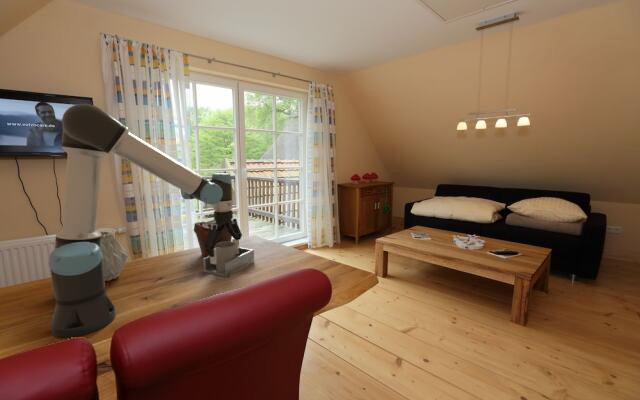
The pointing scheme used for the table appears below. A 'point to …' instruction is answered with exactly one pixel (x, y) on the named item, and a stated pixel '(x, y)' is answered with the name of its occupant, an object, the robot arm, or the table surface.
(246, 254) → the silver open box
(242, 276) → the table surface
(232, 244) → the cup
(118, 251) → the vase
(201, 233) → the case
